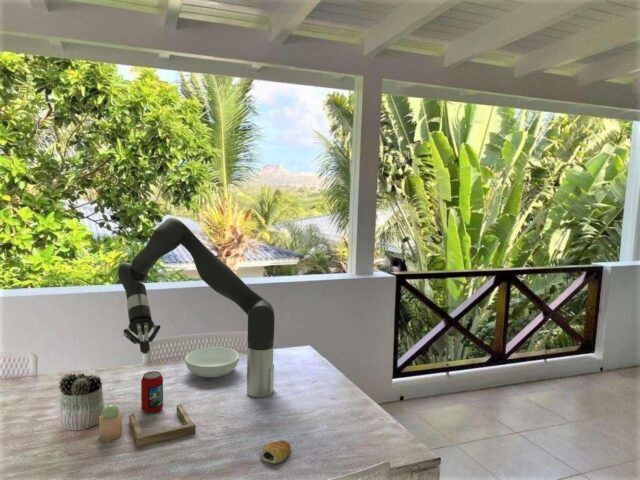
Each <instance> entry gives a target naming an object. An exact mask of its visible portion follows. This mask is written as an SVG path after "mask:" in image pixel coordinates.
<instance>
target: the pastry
mask: <svg viewBox="0 0 640 480" xmlns="http://www.w3.org/2000/svg"><path fill="white" fill-rule="evenodd" d="M291 446H292V445H291V444H290V442H287V441H286V440H276V441H272V442H269V443H267V445H266V444H265V445H264V446H263V448H262V450H261V452H260V453H259V457H260V459H261V460H262V461H263V462H265V461H266V462H267V463H271V464H272V465H276V464H282V463H283V461H285V460H286V459H287V457H288V456H289V454H290V452H291Z"/></svg>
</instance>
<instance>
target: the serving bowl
mask: <svg viewBox="0 0 640 480" xmlns="http://www.w3.org/2000/svg"><path fill="white" fill-rule="evenodd" d="M184 359H185V360H184V361H185V364H186V368H187V369H188V370H189V372H191V373H192V374H193V375H196V376H199V377H202V378H218V377H222V376H225V375H228V374H229V373H231V372H233V371H234V370H235V369H236V368H237V366H238V363H239V360H240V354H239V352H238V351H236V350H235V349H232V348H229V347H221V346H220V347H219V346H213V347H211V346H210V347H205V348H204V347H203V348H199V349H195V350H193V351H191V352H189V353H187V355H185V358H184Z"/></svg>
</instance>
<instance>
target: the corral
mask: <svg viewBox="0 0 640 480" xmlns="http://www.w3.org/2000/svg"><path fill="white" fill-rule="evenodd" d="M176 413H177V415H178V418H179V419H180V421H181V423H183V425H179V426H176V427H169V428H167V429H163V430H158V431H154V432H153V431H152V432H148V433H145V434H143V432H142V430H141V427H140V424H139V421H138V419H137V417H136V415H135V413H131V414H129V415H128V419H129V420H128V423H129V425H130V428H131V429H130V430H131V431H132V434H133V436H134V439H135V442H136V443H135V445H136V447H137V448H138V447H142V446H147V445H151V444H155V443H160V442H164V441H165V442H166V441H169V440H173V439H177V438H182V437H185V436H189V435H194V434H196V423H194V421H193V420H192V418H191V417H190V416H189V414H188V412H187V411H186V409H185V408H184V406H183V404H182V403H179V404H177V405H176Z"/></svg>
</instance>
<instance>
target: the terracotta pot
mask: <svg viewBox="0 0 640 480" xmlns="http://www.w3.org/2000/svg"><path fill="white" fill-rule="evenodd" d="M122 416H123V414H122V412H121V411H119V408H118V406H117V405H115V404H108V405H107V406H104V407H103V409H102V413H101V414H100V415H99V417H98V421H99V423H98V424H99V425H98V427H99V428H98V429H99V439H100V440H101V441H104V442H106V441H107V442H110V441H114V440H117V439H118V438H120V437H122V435H123V423H122V422H123V417H122Z"/></svg>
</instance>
